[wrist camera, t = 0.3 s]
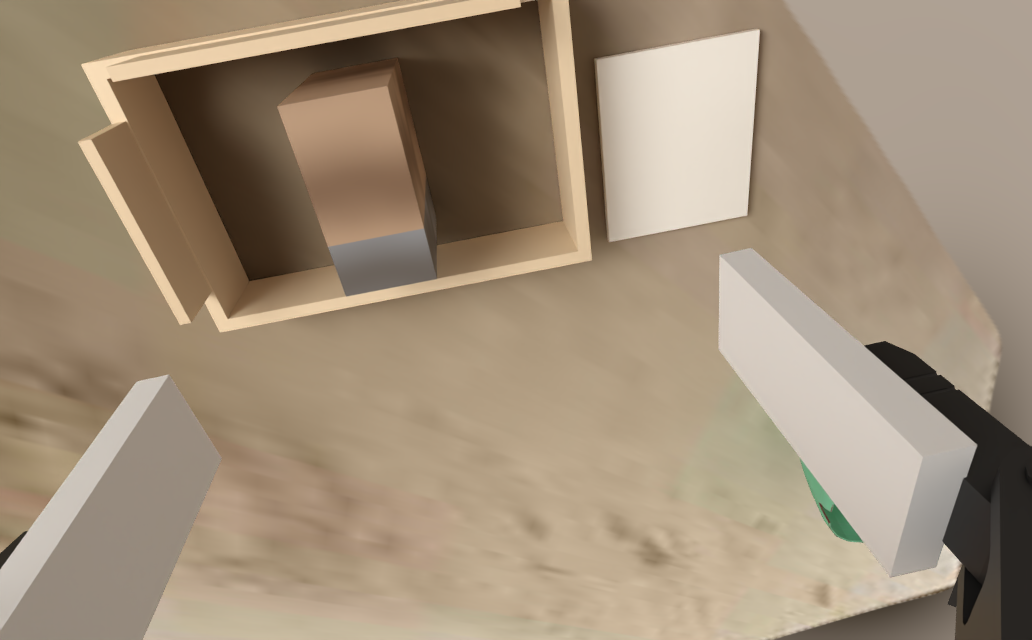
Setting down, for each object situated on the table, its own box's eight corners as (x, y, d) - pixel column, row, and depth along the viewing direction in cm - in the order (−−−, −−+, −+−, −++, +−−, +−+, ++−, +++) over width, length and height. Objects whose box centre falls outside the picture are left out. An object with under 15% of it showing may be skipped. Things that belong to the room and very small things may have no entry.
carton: (127, 50, 32) (38, 76, 25) (548, -27, 32) (581, -23, 25) (242, 293, 40) (201, 365, 33) (575, 229, 41) (606, 286, 33)
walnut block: (312, 73, 34) (277, 106, 26) (397, 57, 34) (387, 86, 26) (362, 231, 39) (346, 296, 31) (436, 217, 39) (437, 279, 31)
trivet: (594, 58, 35) (596, 60, 34) (755, 28, 35) (760, 29, 35) (607, 238, 41) (609, 242, 41) (743, 212, 42) (747, 215, 41)
